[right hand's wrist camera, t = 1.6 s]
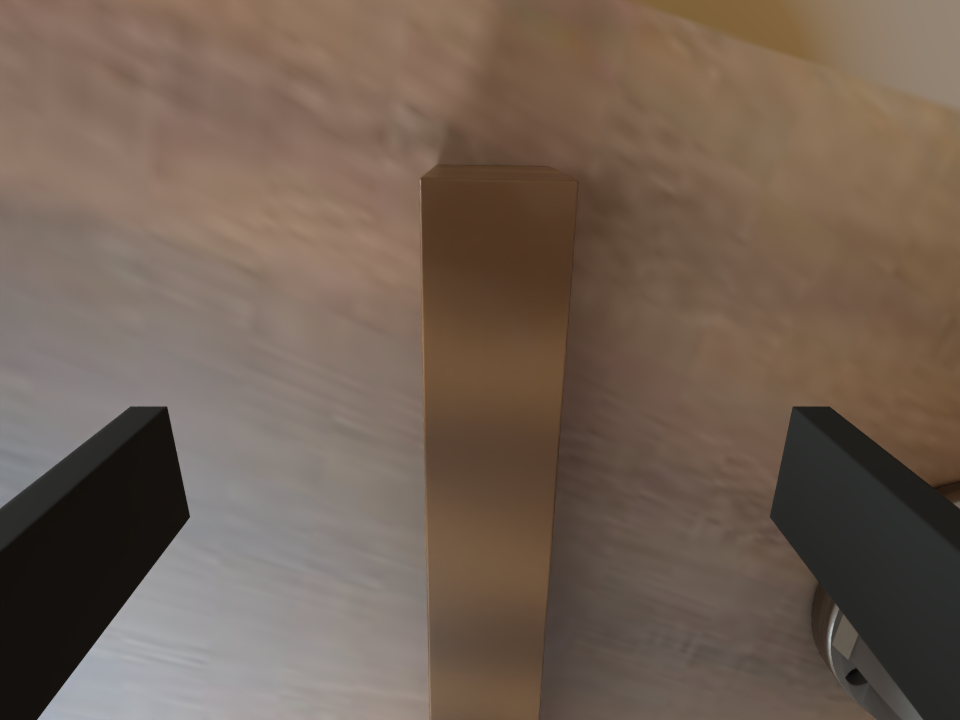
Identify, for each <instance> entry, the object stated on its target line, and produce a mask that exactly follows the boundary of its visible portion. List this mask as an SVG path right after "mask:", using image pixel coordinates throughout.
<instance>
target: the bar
mask: <svg viewBox="0 0 960 720" xmlns="http://www.w3.org/2000/svg"><path fill="white" fill-rule="evenodd" d="M578 185H579V183H578V181H577V180H575V179H573V178H571V177H569V176H567V175H565V174H563V173H561V172H559V171H557V170H555V169H553V168H551V167H535V166H479V165H436V166H435V167H433V168H432V169H431V170H430V171H428V172H427V173H426V174H425V175H424V176H422V177H421V178H420V180H419V190H420V243H421V296H422V349H423V401H424V454H425V507H426V559H427V612H428V665H429V717H430V720H539V713H540V699H541V686H542V672H543V659H544V645H545V632H546V618H547V604H548V591H549V577H550V564H551V550H552V537H553V523H554V510H555V496H556V483H557V469H558V456H559V442H560V429H561V415H562V402H563V388H564V375H565V361H566V348H567V334H568V321H569V307H570V294H571V280H572V266H573V253H574V239H575V226H576V212H577V199H578Z"/></svg>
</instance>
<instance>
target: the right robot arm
mask: <svg viewBox="0 0 960 720" xmlns="http://www.w3.org/2000/svg"><path fill="white" fill-rule="evenodd" d="M189 518H190V515H189V510H188V505H187V500H186V495H185V490H184V486H183V481H182V476H181V471H180V466H179V462H178V457H177V452H176V447H175V442H174V437H173V433H172V428H171V423H170V418H169V413H168V409H167V407H129V408H128V409H127V410H126V411H124V412H123V413H122V414H120V415H119V416H118V417H117V418H115V419H114V420H113V421H112V422H110V423H109V424H108V425H106V426H105V427H104V428H103V429H101V430H100V431H99V432H98V433H96V434H95V435H94V436H92V437H91V438H90V439H89V440H87V441H86V442H85V443H83V444H82V445H81V446H80V447H78V448H77V449H76V450H75V451H73V452H72V453H71V454H69V455H68V456H67V457H66V458H64V459H63V460H62V461H60V462H59V463H58V464H57V465H55V466H54V467H53V468H52V469H50V470H49V471H48V472H46V473H45V474H44V475H43V476H41V477H40V478H39V479H37V480H36V481H35V482H34V483H32V484H31V485H30V486H29V487H27V488H26V489H25V490H23V491H22V492H21V493H20V494H18V495H17V496H16V497H15V498H13V499H12V500H11V501H9V502H8V503H7V504H6V505H4V506H3V507H2V508H0V720H37V719H38V718H39V716H40V715H41V714H42V712H43V711H44V710H45V708H46V707H47V706H48V704H49V703H50V702H51V700H52V699H53V698H54V696H55V695H56V694H57V692H58V691H59V690H60V689H61V687H62V686H63V685H64V683H65V682H66V681H67V679H68V678H69V677H70V675H71V674H72V673H73V671H74V670H75V669H76V667H77V666H78V665H79V663H80V662H81V661H82V659H83V658H84V657H85V655H86V654H87V653H88V651H89V650H90V649H91V647H92V646H93V645H94V643H95V642H96V641H97V640H98V638H99V637H100V636H101V634H102V633H103V632H104V630H105V629H106V628H107V626H108V625H109V624H110V622H111V621H112V620H113V618H114V617H115V616H116V614H117V613H118V612H119V610H120V609H121V608H122V606H123V605H124V604H125V602H126V601H127V600H128V598H129V597H130V596H131V594H132V593H133V592H134V591H135V589H136V588H137V587H138V585H139V584H140V583H141V581H142V580H143V579H144V577H145V576H146V575H147V573H148V572H149V571H150V569H151V568H152V567H153V565H154V564H155V563H156V561H157V560H158V559H159V557H160V556H161V555H162V553H163V552H164V551H165V549H166V548H167V547H168V545H169V544H170V543H171V542H172V540H173V539H174V538H175V536H176V535H177V534H178V532H179V531H180V530H181V528H182V527H183V526H184V524H185V523H186V522H187V520H188V519H189ZM770 518H771V519H772V520H773V522H774V523H775V524H776V526H777V527H778V528H779V530H780V531H781V532H782V534H783V535H784V536H785V538H786V539H787V540H788V542H789V543H790V544H791V545H792V547H793V548H794V549H795V551H796V552H797V553H798V555H799V556H800V557H801V559H802V560H803V561H804V563H805V564H806V565H807V567H808V568H809V569H810V571H811V572H812V573H813V575H814V576H815V577H816V579H817V580H818V581H819V586H818V589H817V592H816V594H815V598H814V603H813V608H812V631H813V636H814V640H815V643H816V646H817V648H818V650H819V653H820V654H821V656H822V658H823V659H824V661H825V662H826V664H827V665H828V667H829V668H830V670H831V671H832V673H833V674H834V676H835V678H836V679H837V681H838V682H839V684H840V685H841V687H842V688H843V690H844V691H845V692H846V693H847V694H848V695H849V696H850V697H851V698H852V699H853V700H854V701H855V702H856V703H857V704H859V705H860V706H861V707H863V708H864V709H865V710H866V711H867V712H868V713H870V714H871V715H872V716H873V717H874V718H876V719H877V720H960V482H959V483H954V484H950V485H946V486H942V487H939V488H936V489H934V488H933V487H931V486H930V485H929V484H928V483H926V482H925V481H924V480H923V479H921V478H920V477H919V476H917V475H916V474H915V473H914V472H912V471H911V470H910V469H908V468H907V467H906V466H905V465H903V464H902V463H901V462H900V461H898V460H897V459H896V458H894V457H893V456H892V455H891V454H889V453H888V452H887V451H885V450H884V449H883V448H882V447H880V446H879V445H878V444H877V443H875V442H874V441H873V440H871V439H870V438H869V437H868V436H866V435H865V434H864V433H862V432H861V431H860V430H859V429H857V428H856V427H855V426H854V425H852V424H851V423H850V422H848V421H847V420H846V419H845V418H843V417H842V416H841V415H840V414H838V413H837V412H836V411H834V410H833V409H832V408H831V407H793V409H792V413H791V418H790V423H789V428H788V433H787V437H786V442H785V447H784V452H783V457H782V462H781V466H780V471H779V476H778V481H777V486H776V490H775V495H774V500H773V505H772V510H771V515H770Z"/></svg>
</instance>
